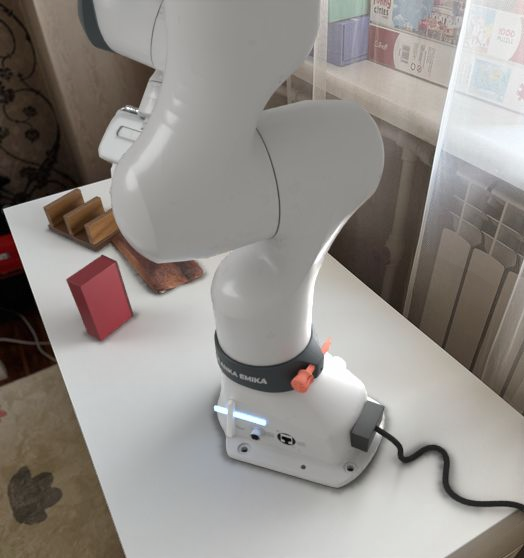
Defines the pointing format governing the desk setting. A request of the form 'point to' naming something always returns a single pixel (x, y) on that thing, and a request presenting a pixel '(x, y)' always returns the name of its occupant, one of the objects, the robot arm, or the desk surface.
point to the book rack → (82, 220)
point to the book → (100, 297)
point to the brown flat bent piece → (158, 268)
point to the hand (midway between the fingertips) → (137, 205)
